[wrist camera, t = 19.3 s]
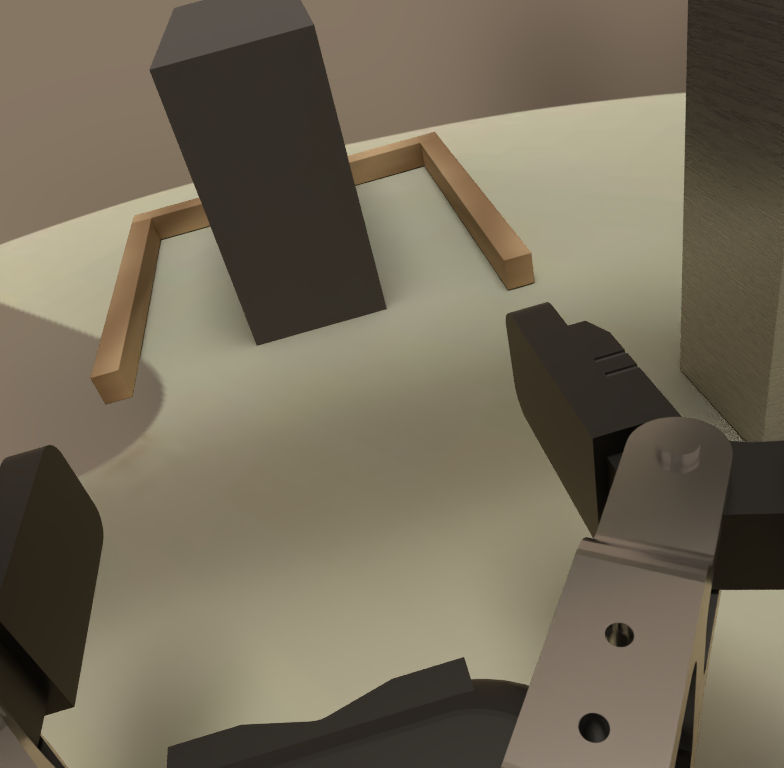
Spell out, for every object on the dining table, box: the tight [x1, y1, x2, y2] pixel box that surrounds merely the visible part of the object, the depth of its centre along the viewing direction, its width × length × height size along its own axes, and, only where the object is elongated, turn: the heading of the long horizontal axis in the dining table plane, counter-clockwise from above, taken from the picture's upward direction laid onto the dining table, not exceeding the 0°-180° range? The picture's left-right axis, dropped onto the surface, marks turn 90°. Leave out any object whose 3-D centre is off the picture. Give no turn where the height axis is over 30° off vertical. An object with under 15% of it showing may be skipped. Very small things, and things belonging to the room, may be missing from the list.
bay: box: [91, 132, 535, 404], centre depth 32 cm, size 16×15×1 cm
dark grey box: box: [150, 0, 386, 346], centre depth 30 cm, size 5×13×10 cm, turn 11°
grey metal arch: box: [680, 0, 784, 442], centre depth 14 cm, size 26×4×20 cm, turn 101°
